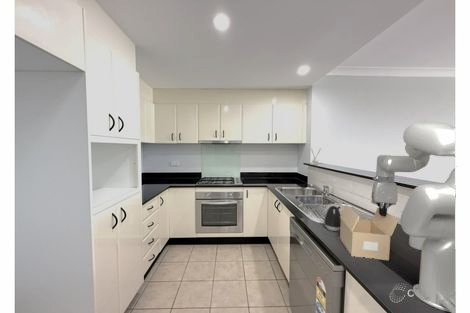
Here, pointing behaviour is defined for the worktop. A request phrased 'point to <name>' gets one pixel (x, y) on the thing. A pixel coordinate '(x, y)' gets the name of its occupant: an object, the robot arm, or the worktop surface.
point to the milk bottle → (416, 242)
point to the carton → (366, 240)
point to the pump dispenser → (333, 219)
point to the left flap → (349, 218)
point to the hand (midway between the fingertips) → (382, 215)
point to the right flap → (385, 222)
